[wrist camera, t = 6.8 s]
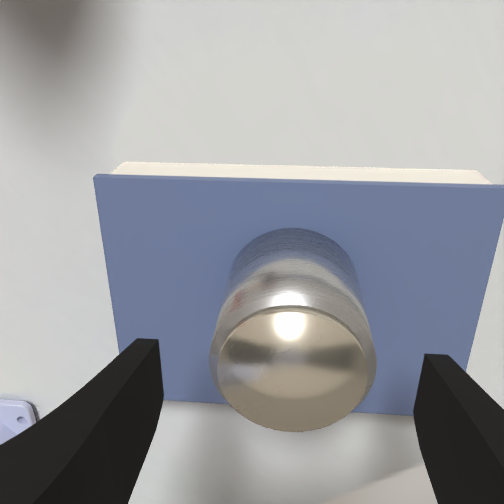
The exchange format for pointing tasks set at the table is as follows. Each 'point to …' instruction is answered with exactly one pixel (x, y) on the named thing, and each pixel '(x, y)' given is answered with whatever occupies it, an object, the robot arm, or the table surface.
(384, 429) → the table surface
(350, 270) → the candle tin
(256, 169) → the book
